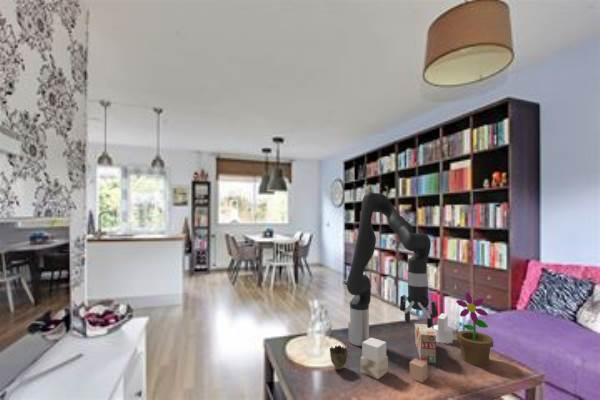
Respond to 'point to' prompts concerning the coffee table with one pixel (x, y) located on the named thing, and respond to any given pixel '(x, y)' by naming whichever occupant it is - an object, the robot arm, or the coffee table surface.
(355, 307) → the robot arm
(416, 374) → the tan block
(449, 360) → the coffee table surface
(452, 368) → the coffee table surface
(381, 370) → the maple base block
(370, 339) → the cream middle block
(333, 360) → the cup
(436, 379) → the coffee table surface
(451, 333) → the cylinder with rectangular tab
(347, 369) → the coffee table surface
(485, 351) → the flowerpot
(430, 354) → the stack of blocks
